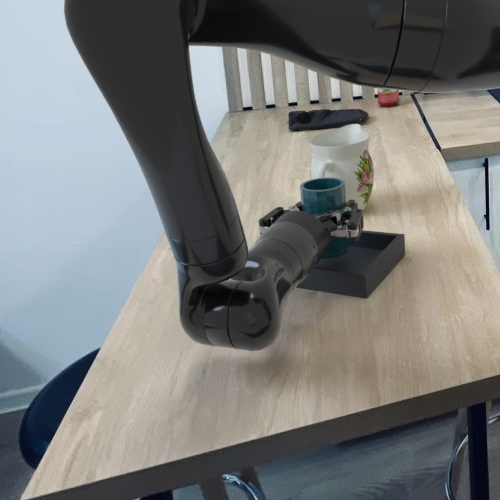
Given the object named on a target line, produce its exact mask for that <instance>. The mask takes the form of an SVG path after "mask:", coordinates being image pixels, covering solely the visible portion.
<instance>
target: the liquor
mask: <svg viewBox="0 0 500 500" xmlns="http://www.w3.org/2000/svg"><path fill="white" fill-rule="evenodd" d="M377 96H378V97H377V98H378V99H377V101H376V103H377V104H378V105H379V106H380V107H381V108H391V107H396V106H397V105H398V104H399V103H400V102H401V98H400V91H399V90H389V89H380V88H377Z"/></svg>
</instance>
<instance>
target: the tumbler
mask: <svg viewBox="0 0 500 500" xmlns="http://www.w3.org/2000/svg"><path fill="white" fill-rule="evenodd" d="M299 193H300V201H301V205H302V211H304V212H307V213H309V214H311V215H314V214H316V213H318V214H321V213H323V212H326V211H328V210H331V209H334V210H339V209H342V208H343V206H344V205H345V204H346V190H345V181H344V180H342V179H339V178H330V177H326V178H316V179H312V180H311V179H308V180H305V181H303V182H301V183H300V185H299ZM329 219H331V218H329ZM341 222H343V216H342V217H341ZM348 251H349V238H347V237H337V239H336V240H334V241H332V242H330V243H329V245H328V248H327V250H326V252H325V254H324V256H323V257H322V258H321V259H327V258H335V257H339V256H342V255H344V254H346V253H347V252H348Z"/></svg>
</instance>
